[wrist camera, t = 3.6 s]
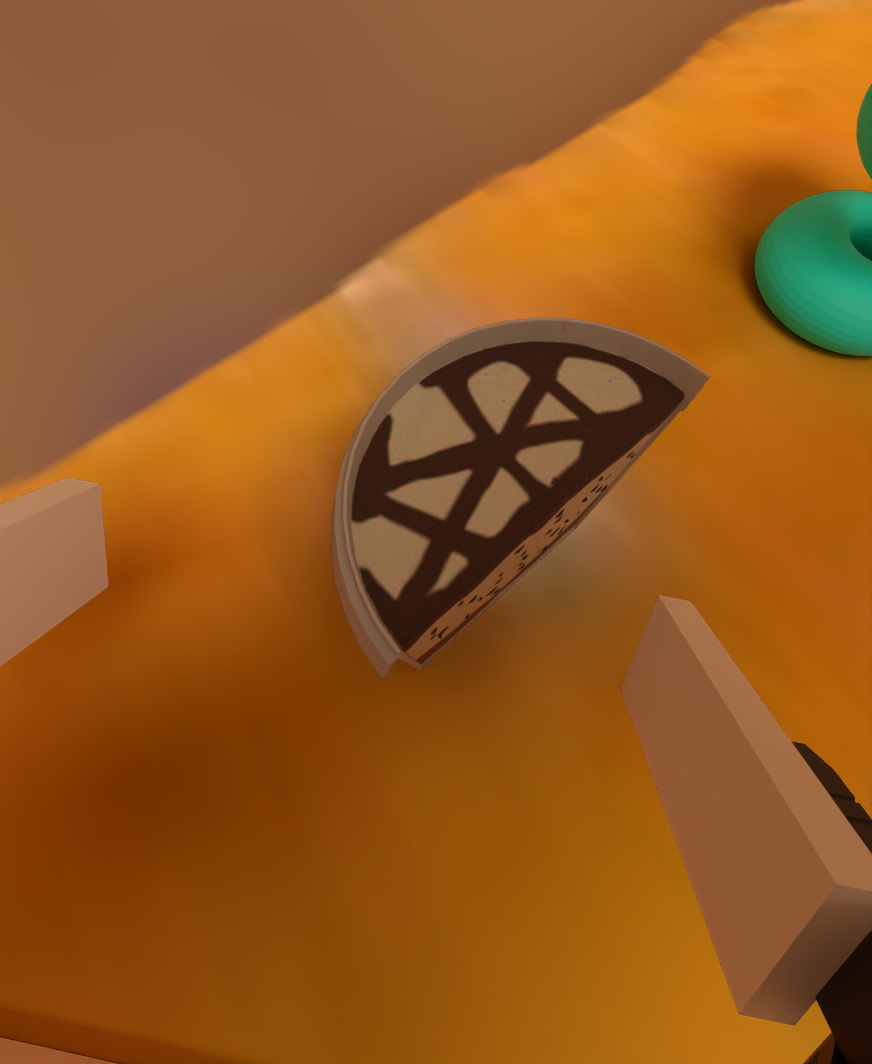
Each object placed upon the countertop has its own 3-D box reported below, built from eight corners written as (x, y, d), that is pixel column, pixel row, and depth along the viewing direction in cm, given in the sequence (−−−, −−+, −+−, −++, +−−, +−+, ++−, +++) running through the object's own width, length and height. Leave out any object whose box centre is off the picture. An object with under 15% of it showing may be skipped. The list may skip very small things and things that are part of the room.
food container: (504, 418, 25) (562, 236, 16) (598, 508, 24) (723, 366, 15) (294, 581, 22) (212, 472, 13) (390, 697, 21) (378, 670, 11)
